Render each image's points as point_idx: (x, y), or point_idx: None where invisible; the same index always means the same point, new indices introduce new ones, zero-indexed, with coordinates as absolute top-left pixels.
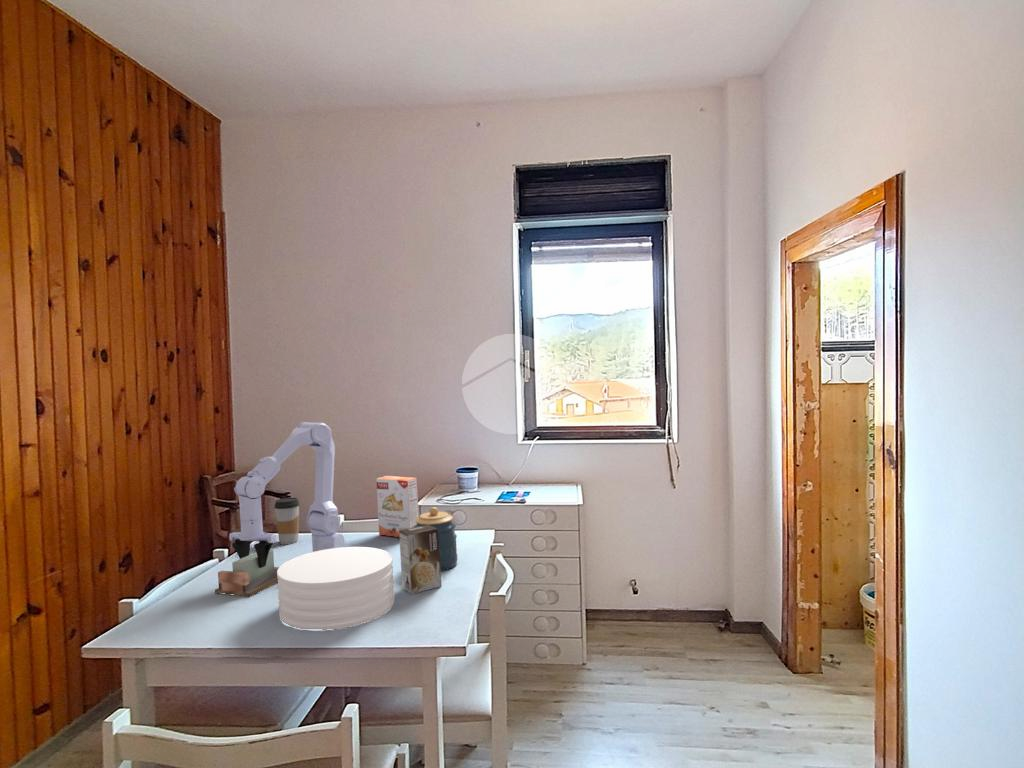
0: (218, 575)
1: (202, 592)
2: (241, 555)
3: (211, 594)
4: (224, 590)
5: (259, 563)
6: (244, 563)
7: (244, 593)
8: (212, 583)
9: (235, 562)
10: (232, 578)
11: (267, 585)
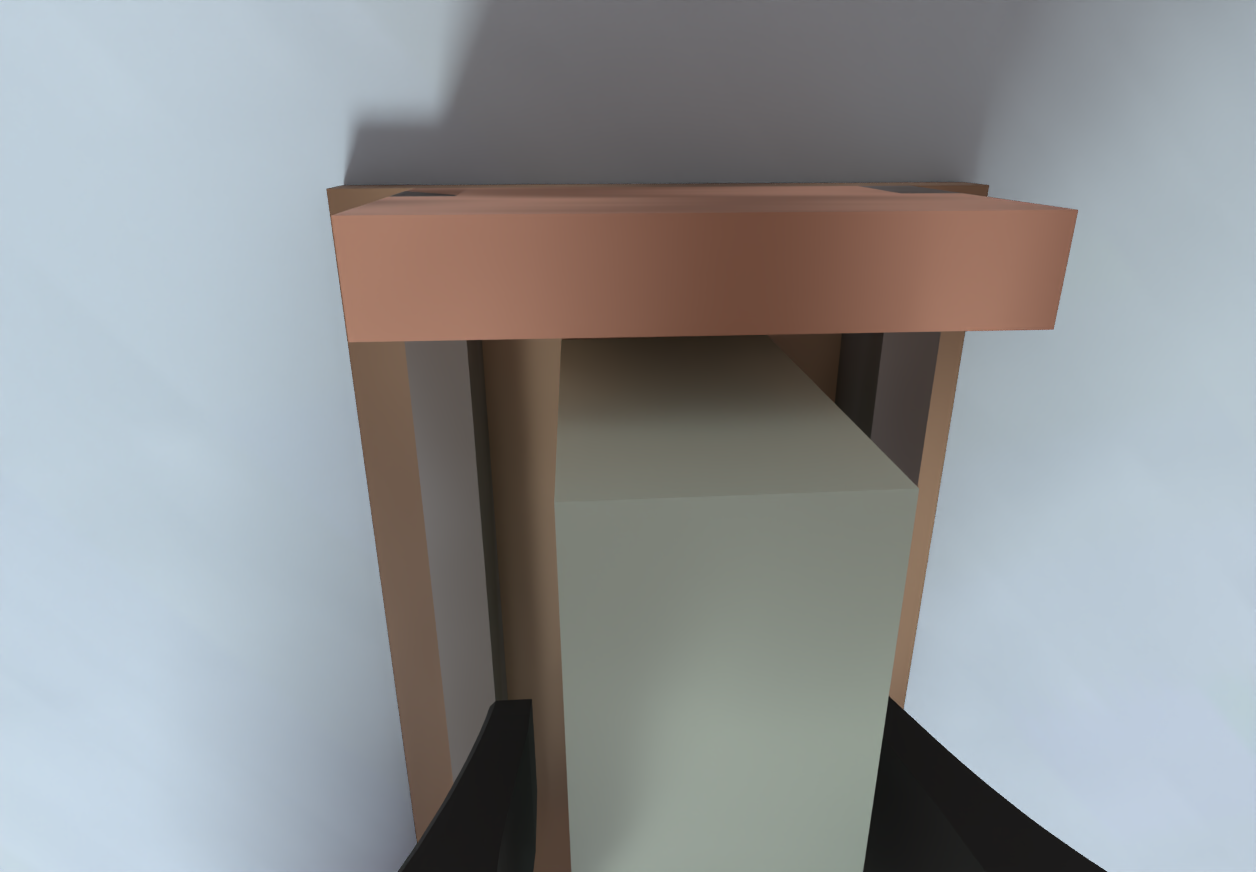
0: (1027, 206)
1: (1165, 181)
2: (948, 827)
3: (989, 144)
4: (810, 187)
5: (491, 746)
6: (555, 511)
7: (438, 186)
8: (1206, 472)
9: (830, 504)
10: (671, 201)
11: (379, 524)
